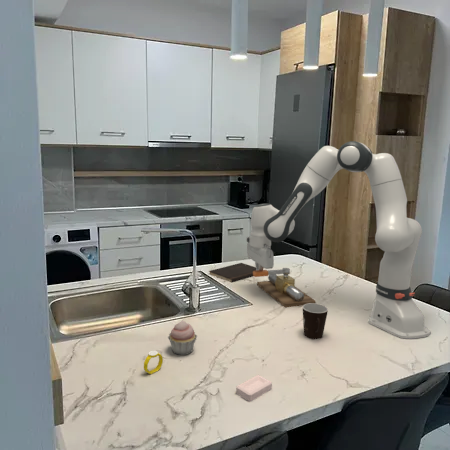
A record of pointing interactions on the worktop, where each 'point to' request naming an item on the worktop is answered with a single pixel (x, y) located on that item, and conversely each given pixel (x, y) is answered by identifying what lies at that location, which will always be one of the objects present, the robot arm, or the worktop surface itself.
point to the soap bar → (253, 387)
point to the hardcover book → (234, 272)
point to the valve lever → (270, 272)
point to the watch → (150, 355)
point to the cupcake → (182, 338)
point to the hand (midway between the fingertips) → (259, 272)
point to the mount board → (283, 295)
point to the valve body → (286, 286)
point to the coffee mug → (314, 320)
